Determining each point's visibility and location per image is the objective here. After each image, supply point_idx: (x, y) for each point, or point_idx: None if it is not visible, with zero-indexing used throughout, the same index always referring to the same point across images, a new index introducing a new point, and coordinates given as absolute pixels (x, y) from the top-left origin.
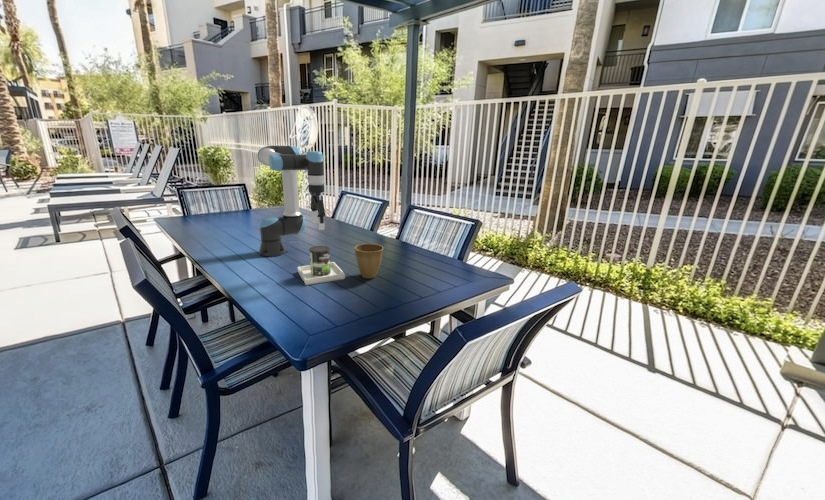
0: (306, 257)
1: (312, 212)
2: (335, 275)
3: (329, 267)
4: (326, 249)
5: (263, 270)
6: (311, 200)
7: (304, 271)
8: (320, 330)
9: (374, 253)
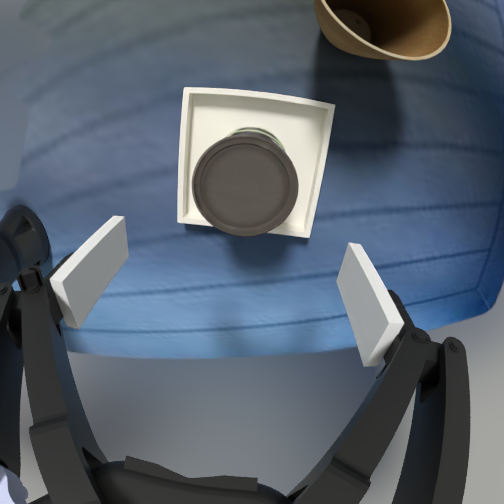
0: (66, 157)
1: (82, 319)
2: (328, 139)
3: (277, 140)
4: (271, 160)
5: (137, 286)
6: (18, 425)
7: None
8: (479, 273)
9: (445, 26)
